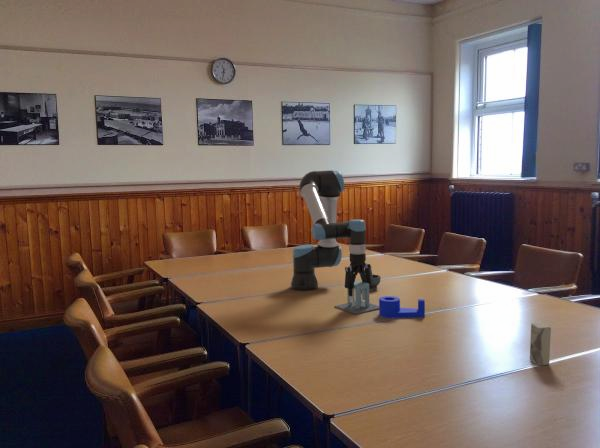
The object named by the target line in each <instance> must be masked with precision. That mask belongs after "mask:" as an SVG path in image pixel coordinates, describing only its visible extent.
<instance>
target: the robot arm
mask: <svg viewBox="0 0 600 448" xmlns="http://www.w3.org/2000/svg"><path fill="white" fill-rule="evenodd" d="M298 186H299V194H300V195H301V197H302V198H303V199H304V201H305V204H306V206H307V210H308V212H309V214H310V217H311V220H312V223H313V224H312V226H311V236H312V238H313V240H319V241H318V242H317V246H315V245H314V244H302V245H298V246H295V247H294V248H293V249H292V250H293V251H292V261H293V262H292V263H293V265H292V266H293V268H292V269H293V276H292V279H291V283H290V288H291V289H292V290H296V291H309V290H311V291H312V290H315V289H318V287H319V282H318V280H317V277H316V272H315V269H317V268H320V269H321V268H332V267H337V266H339V265H340V263H341V262H342V257H343V256H342V255H343V252H342V251H343V250H342V247H341V246H340V245H339V242H338V241H337V239H349V240H348V242H349V243H348V244H349V246H348V247H349V249H348V251H349V263H350V264H349V266H345V267H344V271H345V274H344V275H345V276H344V277H345V278H344V288H345V289H347V288H348V294H347V296H348V295H349V296H350V302H351V303H355V289H353V286H354V282H356V278H357V275H358V274H359V276H360V279H361V282H365V283H369V285H370V284H371V275H370V266H371V264H370V263H366V259H367V254H366V248H367V247H366V243H367V242H366V230H367V229H366V222H365V220H364V219H350V220H349V221H347V220H346V221H343V222H337V218H338V217H337V214H338V213H337V212H338V199H339V198H340V197H341V193H343V192H344V191H345V180H344V177H343V174H342V173H341V172H340V170H333V169H332V170H313V171H309V172H307V173H306V174H304V176H302V178H301V180H300V182H299V185H298ZM368 281H369V282H368ZM361 301H365V288H364V289H361Z"/></svg>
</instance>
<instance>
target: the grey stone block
mask: <svg viewBox="0 0 600 448" xmlns="http://www.w3.org/2000/svg"><path fill="white" fill-rule="evenodd" d="M530 324H531V325H530V342H529V343H530V345H529V346H530V347H529V348H530V349H529V360H530V361H531V362H532V363H534V365H536V366H549V365H550V358H551V357H550V353H551V335H552V334H551V333H552V326H551V327H550V326H549V325H547V324H546V323H543V322H535V323H533V322H532V323H530Z"/></svg>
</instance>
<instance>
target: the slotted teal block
mask: <svg viewBox="0 0 600 448" xmlns="http://www.w3.org/2000/svg"><path fill="white" fill-rule="evenodd" d="M364 288H365V300H364V302H365V306H366V307H368V306H369V303H370V290H369V283H365V282H362V280H361V281H360V280H357V281H355V282H354V286H353V289H354V299H355V302H356V309H360V304H361V301H362V289H364ZM346 290H347V303H348V306H352V303H351V302H350V296H349V295H348V288H346Z"/></svg>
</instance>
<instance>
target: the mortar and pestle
mask: <svg viewBox="0 0 600 448" xmlns="http://www.w3.org/2000/svg"><path fill="white" fill-rule="evenodd" d="M370 275H371V284H370V285H369V291H377V290H378V286H379V285H380V283H381V276H380V275H378V274H374V273H373V271H372V265H370ZM368 282H369V281H368ZM376 289H377V290H376Z"/></svg>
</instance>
